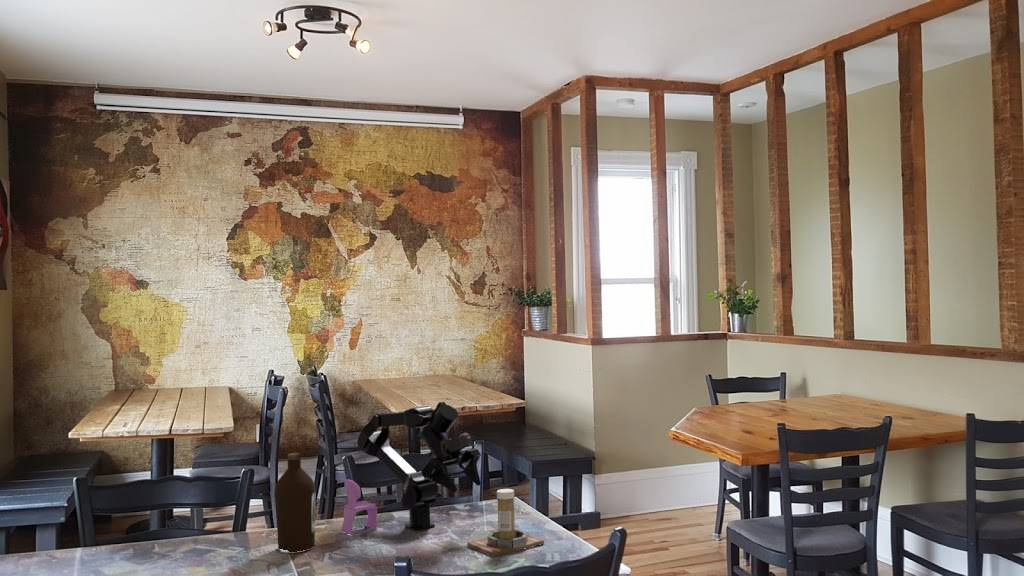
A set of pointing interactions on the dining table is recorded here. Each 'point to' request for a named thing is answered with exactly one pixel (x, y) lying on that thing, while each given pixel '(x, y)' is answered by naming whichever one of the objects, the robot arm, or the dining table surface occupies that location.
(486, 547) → the wooden base board
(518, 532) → the ring
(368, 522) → the toy chair
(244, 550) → the dining table surface
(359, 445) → the robot arm
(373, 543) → the dining table surface
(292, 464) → the olive oil
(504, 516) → the sprinkles bottle
